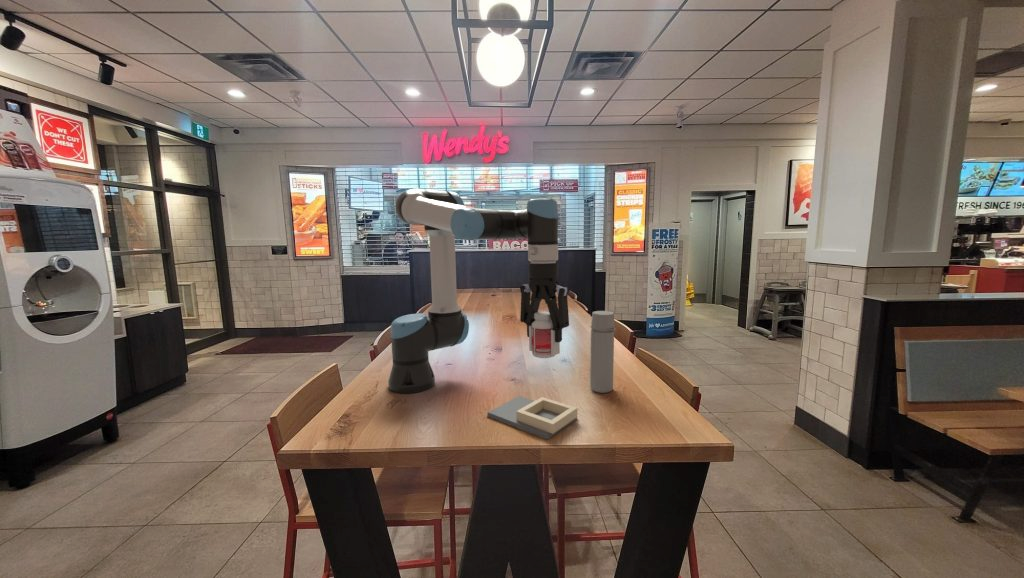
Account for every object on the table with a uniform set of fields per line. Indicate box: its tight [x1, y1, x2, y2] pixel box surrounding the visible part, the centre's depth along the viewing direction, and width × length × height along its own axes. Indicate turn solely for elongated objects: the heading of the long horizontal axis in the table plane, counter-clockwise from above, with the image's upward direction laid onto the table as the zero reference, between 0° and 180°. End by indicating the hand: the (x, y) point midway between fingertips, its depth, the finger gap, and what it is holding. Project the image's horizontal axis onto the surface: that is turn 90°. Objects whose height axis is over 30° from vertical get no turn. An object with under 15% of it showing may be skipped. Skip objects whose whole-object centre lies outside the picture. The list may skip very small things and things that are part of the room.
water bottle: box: [589, 310, 617, 394], centre depth 123 cm, size 9×8×25 cm
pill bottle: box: [531, 311, 556, 359], centre depth 99 cm, size 6×6×11 cm
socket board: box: [487, 395, 578, 440], centre depth 105 cm, size 21×14×4 cm
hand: (544, 351), depth 100 cm, fingers closed on pill bottle, 6 cm apart
